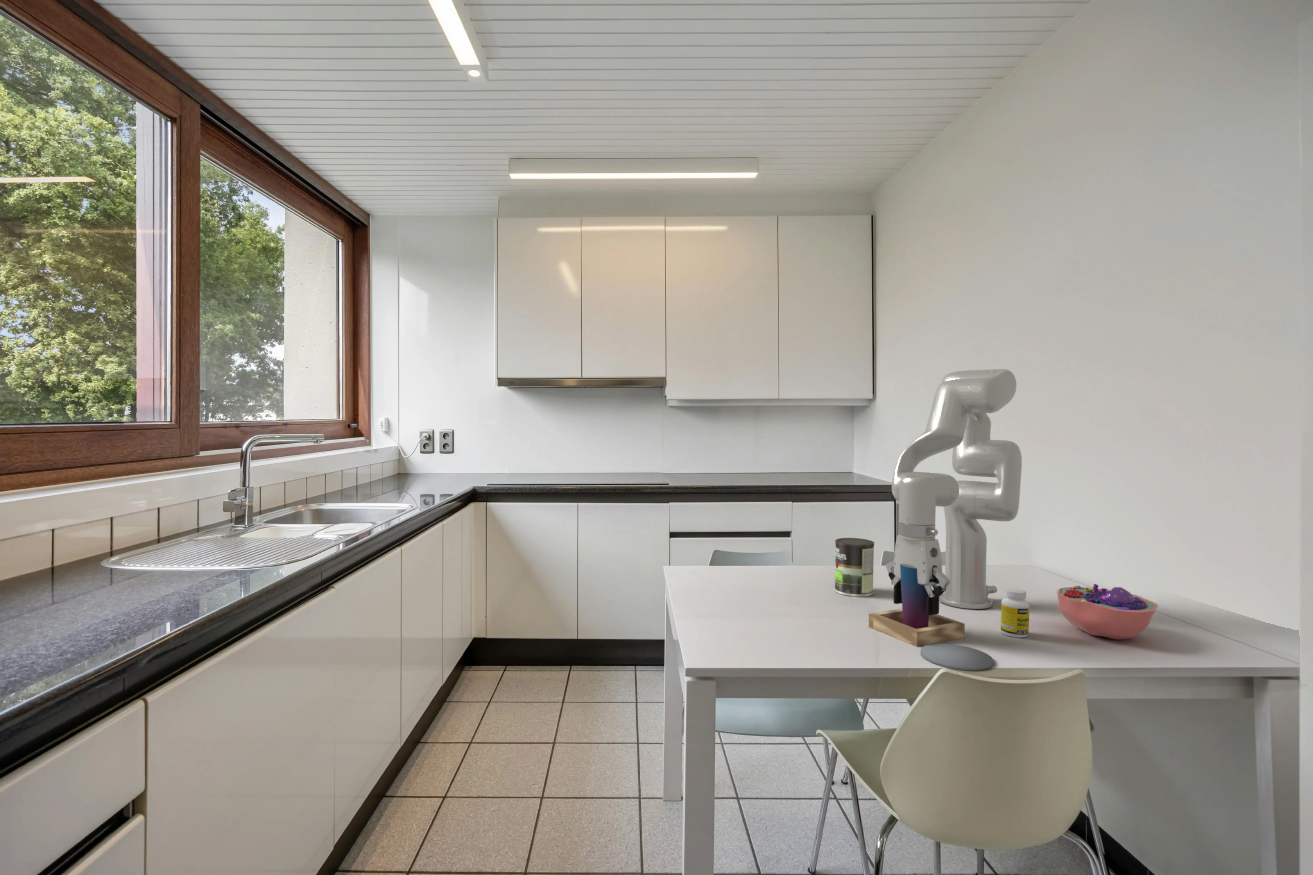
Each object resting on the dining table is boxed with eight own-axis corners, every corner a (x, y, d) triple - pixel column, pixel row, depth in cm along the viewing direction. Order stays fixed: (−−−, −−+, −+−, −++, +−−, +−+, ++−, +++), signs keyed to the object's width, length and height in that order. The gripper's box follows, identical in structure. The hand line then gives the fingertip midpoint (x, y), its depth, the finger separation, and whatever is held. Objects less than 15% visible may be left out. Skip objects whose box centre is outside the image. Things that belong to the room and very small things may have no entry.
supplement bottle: (1018, 639, 138) (1019, 594, 138) (995, 632, 143) (996, 588, 143) (1034, 636, 141) (1035, 591, 140) (1010, 628, 145) (1011, 585, 145)
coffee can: (843, 597, 171) (844, 544, 171) (828, 587, 181) (829, 537, 181) (880, 596, 172) (881, 544, 172) (863, 586, 182) (864, 537, 182)
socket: (914, 619, 152) (914, 606, 152) (964, 637, 139) (964, 623, 139) (868, 626, 146) (868, 613, 146) (916, 646, 134) (917, 632, 134)
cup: (935, 638, 139) (936, 569, 139) (902, 635, 140) (902, 567, 140) (928, 628, 146) (929, 562, 145) (896, 626, 147) (897, 560, 147)
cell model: (1097, 618, 153) (1098, 571, 153) (1179, 647, 134) (1180, 593, 133) (1035, 622, 150) (1036, 574, 150) (1109, 652, 131) (1110, 597, 130)
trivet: (952, 642, 136) (952, 640, 136) (1008, 664, 124) (1008, 660, 124) (906, 651, 130) (906, 648, 130) (960, 674, 119) (960, 671, 119)
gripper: (962, 536, 136) (960, 617, 136) (899, 524, 152) (898, 597, 152) (936, 538, 133) (935, 621, 133) (875, 526, 149) (874, 600, 149)
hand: (915, 608), depth 143 cm, fingers open, 8 cm apart
